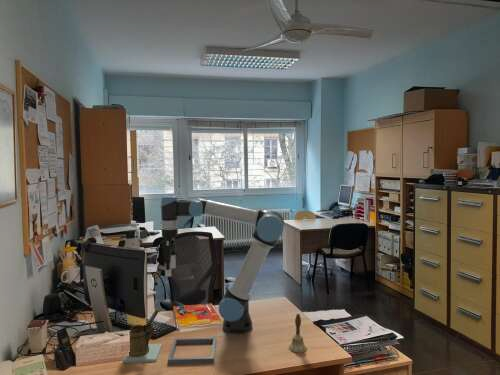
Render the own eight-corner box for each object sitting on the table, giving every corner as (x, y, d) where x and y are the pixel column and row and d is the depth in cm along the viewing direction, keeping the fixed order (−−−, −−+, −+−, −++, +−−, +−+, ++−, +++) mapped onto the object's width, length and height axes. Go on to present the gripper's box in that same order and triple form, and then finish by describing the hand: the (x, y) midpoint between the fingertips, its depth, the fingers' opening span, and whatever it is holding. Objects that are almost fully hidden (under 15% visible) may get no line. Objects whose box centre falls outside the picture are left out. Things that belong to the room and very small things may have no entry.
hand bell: (308, 345, 179) (308, 311, 178) (304, 354, 172) (305, 318, 170) (290, 343, 182) (290, 309, 181) (286, 351, 174) (286, 316, 173)
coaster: (162, 345, 180) (162, 343, 180) (156, 361, 166) (156, 359, 166) (131, 346, 180) (131, 344, 179) (123, 362, 166) (122, 360, 166)
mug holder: (216, 341, 184) (215, 337, 184) (214, 362, 165) (213, 358, 164) (174, 342, 183) (174, 338, 183) (167, 364, 164) (167, 359, 164)
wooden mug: (159, 354, 170) (158, 314, 169) (126, 358, 167) (125, 317, 166) (159, 345, 179) (158, 306, 177) (128, 348, 176) (127, 309, 175)
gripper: (166, 224, 199) (167, 265, 200) (156, 233, 174) (157, 280, 175) (181, 224, 199) (181, 264, 201) (173, 233, 174) (174, 279, 176)
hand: (170, 272), depth 188 cm, fingers open, 13 cm apart
